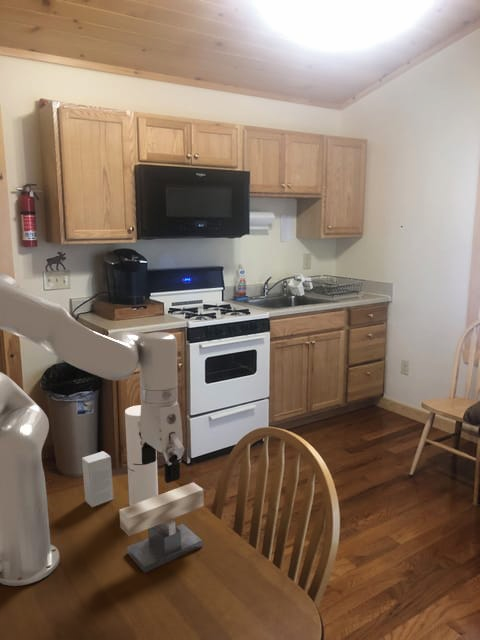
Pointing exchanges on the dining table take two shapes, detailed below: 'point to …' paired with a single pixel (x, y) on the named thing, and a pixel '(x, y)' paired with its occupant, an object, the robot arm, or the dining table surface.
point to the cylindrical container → (138, 461)
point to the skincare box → (97, 478)
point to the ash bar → (161, 508)
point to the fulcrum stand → (163, 545)
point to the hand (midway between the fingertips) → (160, 471)
